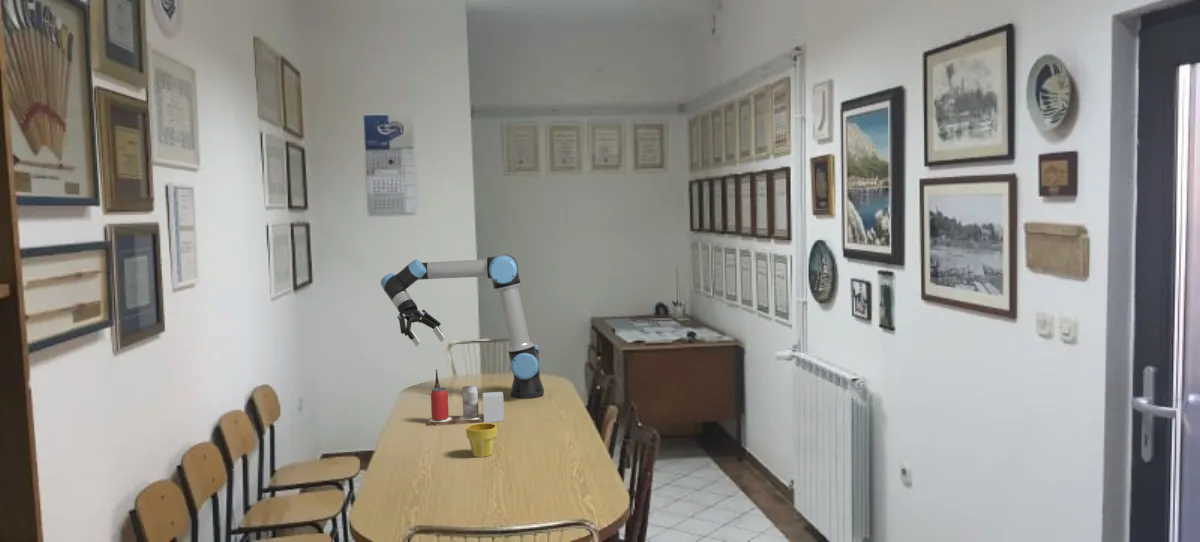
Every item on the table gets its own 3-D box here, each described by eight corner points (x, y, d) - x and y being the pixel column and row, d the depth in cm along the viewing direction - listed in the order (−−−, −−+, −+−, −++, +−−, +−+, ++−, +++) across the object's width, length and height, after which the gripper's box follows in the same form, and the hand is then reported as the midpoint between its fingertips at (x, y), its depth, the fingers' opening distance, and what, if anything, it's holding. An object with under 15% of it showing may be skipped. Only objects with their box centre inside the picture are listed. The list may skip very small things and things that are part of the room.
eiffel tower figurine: (419, 399, 389) (418, 370, 388) (421, 395, 399) (420, 366, 398) (453, 397, 391) (452, 368, 390) (454, 393, 401) (453, 364, 400)
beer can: (450, 416, 345) (449, 387, 344) (446, 420, 338) (444, 390, 338) (434, 417, 346) (433, 387, 345) (429, 421, 339) (428, 390, 338)
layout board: (482, 417, 349) (481, 384, 348) (482, 422, 340) (481, 388, 339) (429, 420, 346) (428, 387, 345) (428, 425, 337) (426, 392, 336)
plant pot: (469, 460, 288) (468, 431, 287) (465, 452, 298) (464, 424, 297) (500, 457, 290) (498, 428, 290) (495, 449, 300) (494, 421, 300)
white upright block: (503, 416, 350) (502, 391, 349) (504, 420, 342) (503, 395, 341) (483, 417, 348) (482, 392, 348) (483, 422, 341) (482, 397, 340)
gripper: (423, 307, 377) (448, 343, 369) (377, 313, 357) (403, 352, 350) (431, 295, 374) (457, 332, 366) (385, 301, 354) (411, 340, 346)
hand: (430, 342), depth 358 cm, fingers open, 13 cm apart
